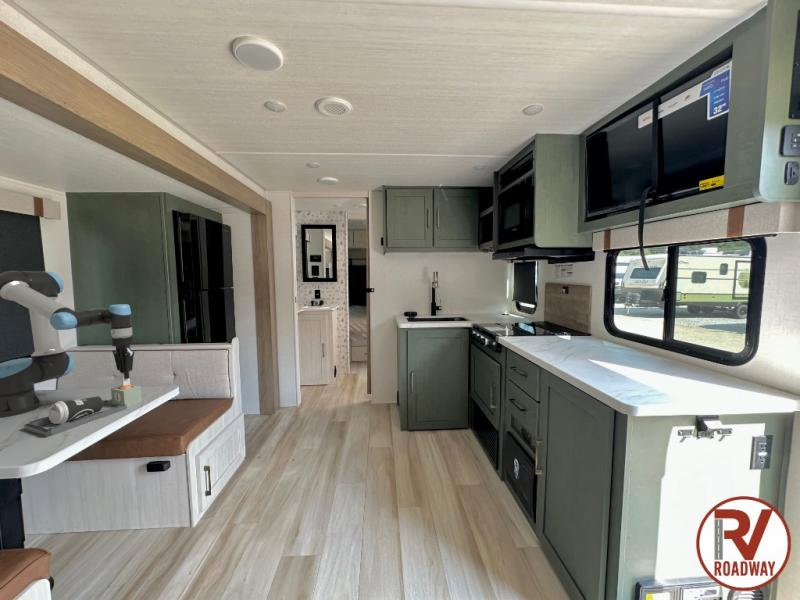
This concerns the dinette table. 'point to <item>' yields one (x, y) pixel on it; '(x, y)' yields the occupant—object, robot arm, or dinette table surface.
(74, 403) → the coffee cup
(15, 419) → the dinette table surface
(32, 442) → the dinette table surface
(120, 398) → the cabinet
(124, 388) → the egg
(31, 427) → the gray rectangular frame
